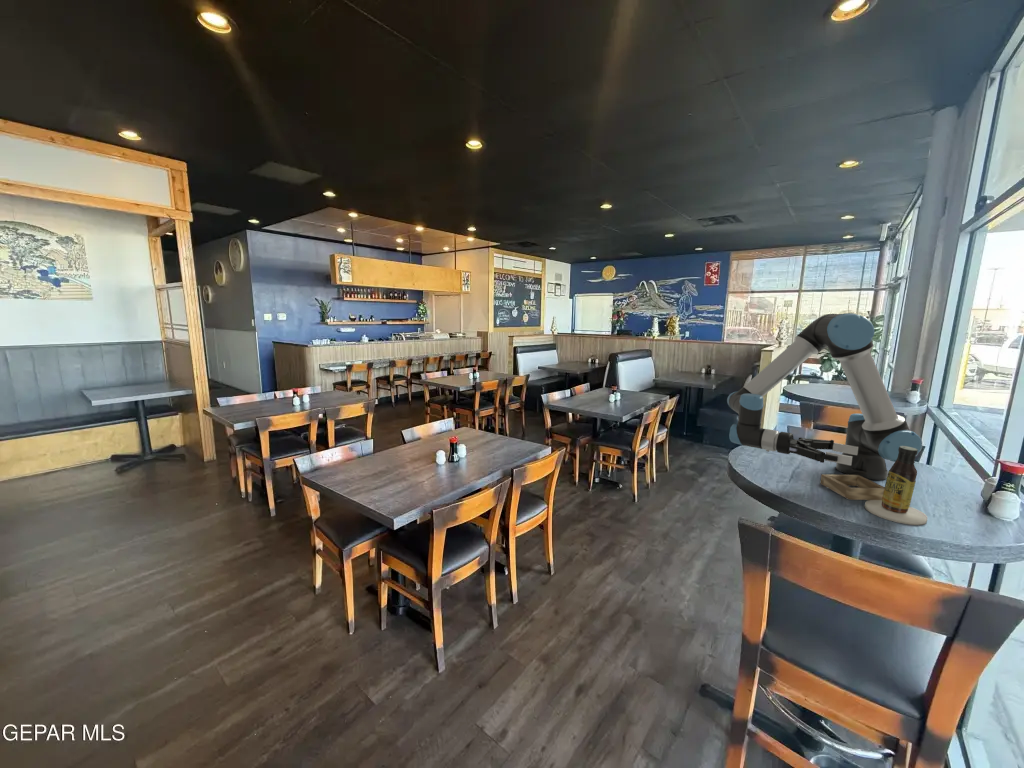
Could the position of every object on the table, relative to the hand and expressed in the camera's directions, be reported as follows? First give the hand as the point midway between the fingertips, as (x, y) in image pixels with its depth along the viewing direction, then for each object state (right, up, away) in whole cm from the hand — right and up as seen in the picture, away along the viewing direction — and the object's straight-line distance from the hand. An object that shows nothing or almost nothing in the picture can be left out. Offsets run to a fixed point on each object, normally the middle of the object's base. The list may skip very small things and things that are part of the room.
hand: (855, 456), depth 131 cm
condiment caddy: (+8, -14, +10) cm, 19 cm away
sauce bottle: (+7, -16, -6) cm, 18 cm away
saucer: (+7, -17, -6) cm, 19 cm away
